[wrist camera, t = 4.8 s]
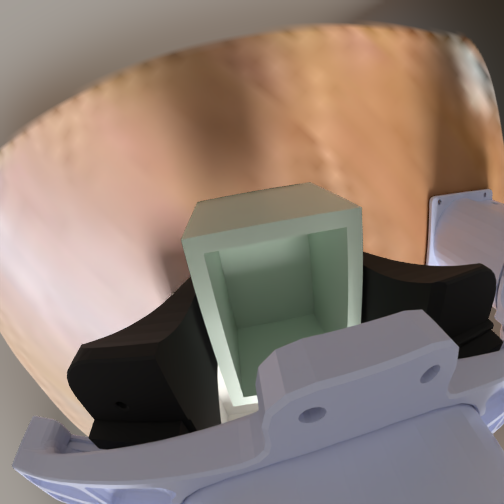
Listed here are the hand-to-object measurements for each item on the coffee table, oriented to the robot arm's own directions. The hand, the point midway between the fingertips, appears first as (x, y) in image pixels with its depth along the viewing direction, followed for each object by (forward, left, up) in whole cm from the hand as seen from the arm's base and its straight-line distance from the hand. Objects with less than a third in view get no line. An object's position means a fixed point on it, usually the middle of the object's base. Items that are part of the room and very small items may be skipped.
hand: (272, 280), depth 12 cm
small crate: (0, 0, -2) cm, 2 cm away
